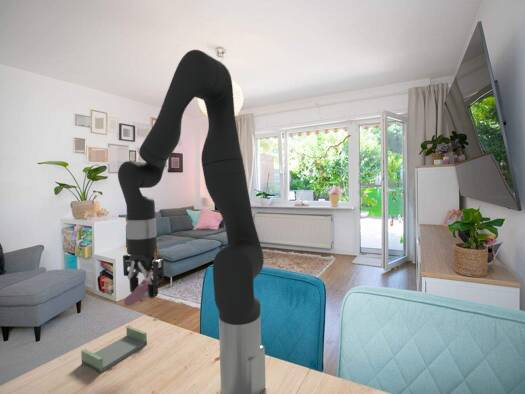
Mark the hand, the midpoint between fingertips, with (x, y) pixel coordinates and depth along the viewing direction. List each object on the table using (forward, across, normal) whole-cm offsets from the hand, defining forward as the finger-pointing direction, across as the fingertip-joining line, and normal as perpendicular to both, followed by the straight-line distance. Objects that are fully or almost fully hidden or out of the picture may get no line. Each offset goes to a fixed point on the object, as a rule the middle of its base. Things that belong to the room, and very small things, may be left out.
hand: (143, 294), depth 74 cm
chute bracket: (+16, +6, +4) cm, 18 cm away
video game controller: (+1, 0, 0) cm, 2 cm away
